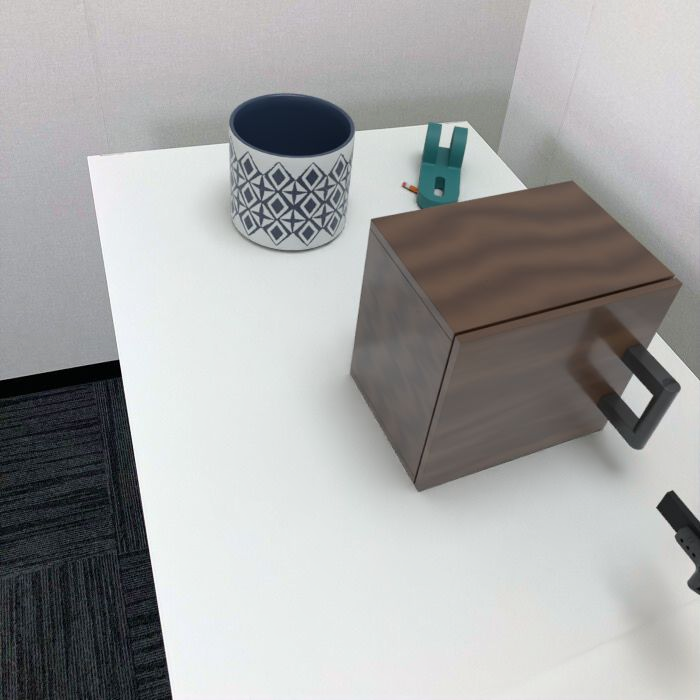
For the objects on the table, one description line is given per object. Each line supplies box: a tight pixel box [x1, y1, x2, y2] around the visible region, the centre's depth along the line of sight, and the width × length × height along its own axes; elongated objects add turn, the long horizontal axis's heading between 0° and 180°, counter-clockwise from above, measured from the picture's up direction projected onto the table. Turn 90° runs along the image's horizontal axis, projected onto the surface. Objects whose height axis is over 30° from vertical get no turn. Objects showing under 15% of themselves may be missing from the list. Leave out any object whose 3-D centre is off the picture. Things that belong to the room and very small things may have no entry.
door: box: [414, 277, 684, 492], centre depth 77 cm, size 8×26×24 cm, turn 114°
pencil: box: [401, 181, 418, 194], centre depth 123 cm, size 1×18×1 cm, turn 51°
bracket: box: [416, 121, 469, 209], centre depth 125 cm, size 18×7×8 cm, turn 172°
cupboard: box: [349, 179, 676, 484], centre depth 85 cm, size 18×26×24 cm
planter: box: [228, 92, 356, 251], centre depth 111 cm, size 18×18×16 cm
